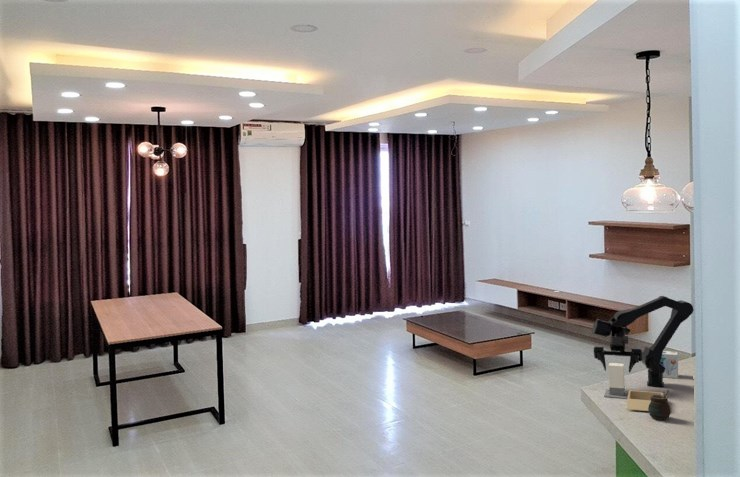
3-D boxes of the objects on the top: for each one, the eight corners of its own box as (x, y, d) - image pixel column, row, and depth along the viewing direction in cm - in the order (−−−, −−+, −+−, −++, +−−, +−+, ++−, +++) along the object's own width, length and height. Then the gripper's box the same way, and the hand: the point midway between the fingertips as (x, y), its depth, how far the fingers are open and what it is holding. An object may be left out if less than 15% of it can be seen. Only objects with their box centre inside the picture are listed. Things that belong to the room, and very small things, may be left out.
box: (610, 391, 252) (609, 362, 252) (624, 392, 250) (624, 363, 250) (609, 394, 248) (608, 365, 248) (624, 395, 246) (623, 366, 246)
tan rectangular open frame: (629, 396, 246) (629, 387, 246) (663, 399, 241) (663, 390, 240) (627, 410, 229) (626, 401, 229) (663, 414, 223) (662, 404, 223)
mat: (606, 390, 256) (606, 389, 256) (629, 392, 252) (629, 391, 252) (604, 397, 247) (604, 396, 247) (628, 399, 243) (628, 398, 243)
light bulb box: (651, 376, 274) (651, 352, 274) (652, 373, 280) (651, 349, 280) (678, 378, 269) (677, 354, 269) (678, 375, 275) (677, 351, 275)
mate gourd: (643, 417, 221) (642, 389, 221) (659, 414, 224) (659, 387, 223) (659, 423, 214) (658, 394, 214) (675, 419, 217) (675, 391, 217)
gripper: (593, 327, 259) (591, 359, 250) (641, 329, 252) (641, 362, 242) (595, 342, 267) (593, 373, 257) (642, 344, 259) (642, 376, 249)
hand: (617, 371), depth 251 cm, fingers open, 9 cm apart
